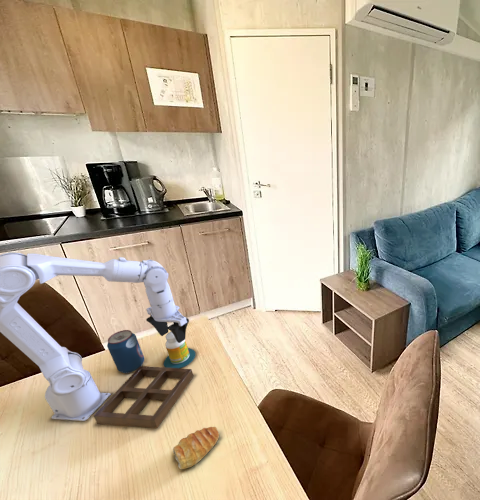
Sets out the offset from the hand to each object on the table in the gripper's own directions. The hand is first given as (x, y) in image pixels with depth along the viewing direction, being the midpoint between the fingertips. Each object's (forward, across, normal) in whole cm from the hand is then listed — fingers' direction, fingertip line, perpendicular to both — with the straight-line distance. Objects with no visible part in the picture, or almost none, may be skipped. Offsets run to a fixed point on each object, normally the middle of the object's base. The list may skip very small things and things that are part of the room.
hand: (173, 337), depth 88 cm
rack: (+9, -5, +13) cm, 17 cm away
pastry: (+9, -28, +18) cm, 35 cm away
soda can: (+9, +11, +8) cm, 16 cm away
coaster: (+9, 0, 0) cm, 9 cm away
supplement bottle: (+9, 0, 0) cm, 9 cm away
